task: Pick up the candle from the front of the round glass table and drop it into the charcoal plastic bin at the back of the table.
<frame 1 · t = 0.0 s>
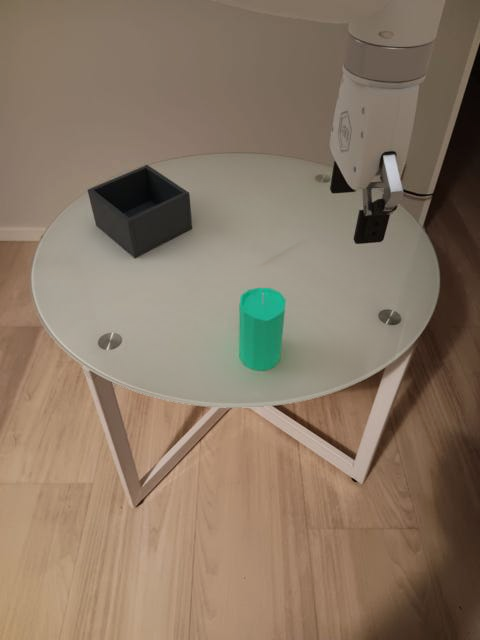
hand: (354, 215, 58), 22 cm above the table, tool pointing down, fingers open, 9 cm apart
bin: (144, 227, 93), on the table
candle: (259, 355, 73), on the table
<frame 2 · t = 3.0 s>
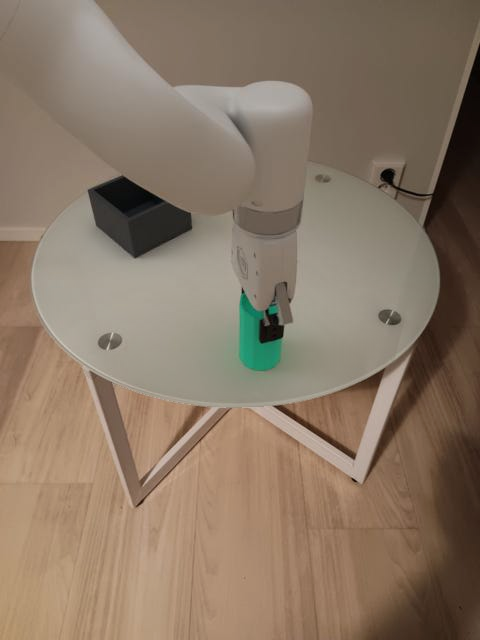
hand: (261, 320, 68), 7 cm above the table, tool pointing down, fingers closed on candle, 5 cm apart
candle: (259, 355, 73), on the table, touching gripper
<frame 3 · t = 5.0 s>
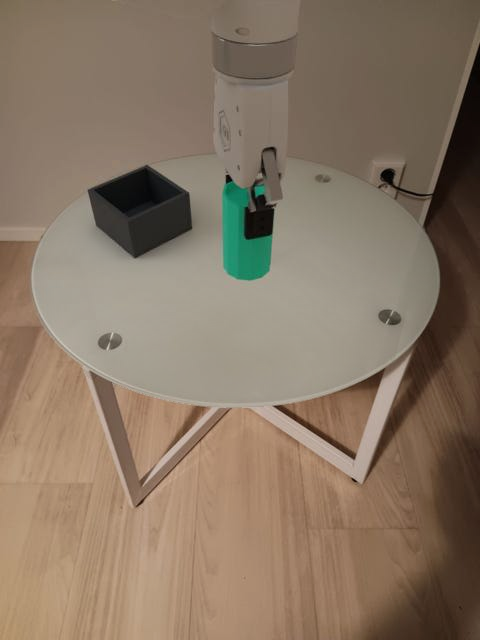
hand: (248, 218, 59), 22 cm above the table, tool pointing down, fingers closed on candle, 5 cm apart
candle: (246, 266, 64), point 14 cm above the table, touching gripper
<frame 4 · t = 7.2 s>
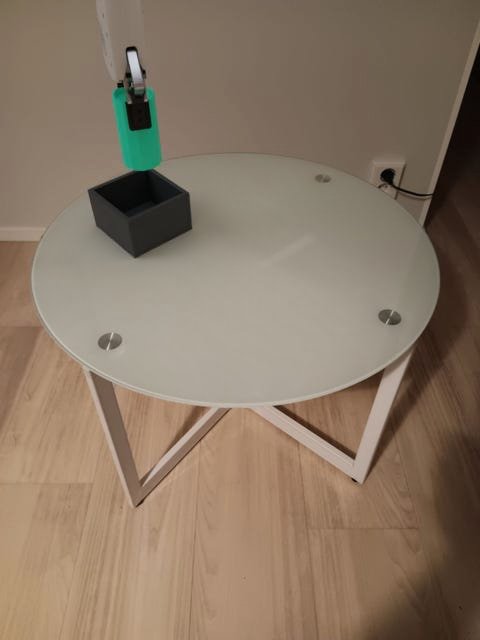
hand: (136, 117, 75), 22 cm above the table, tool pointing down, fingers closed on candle, 5 cm apart
candle: (142, 162, 80), point 15 cm above the table, touching gripper
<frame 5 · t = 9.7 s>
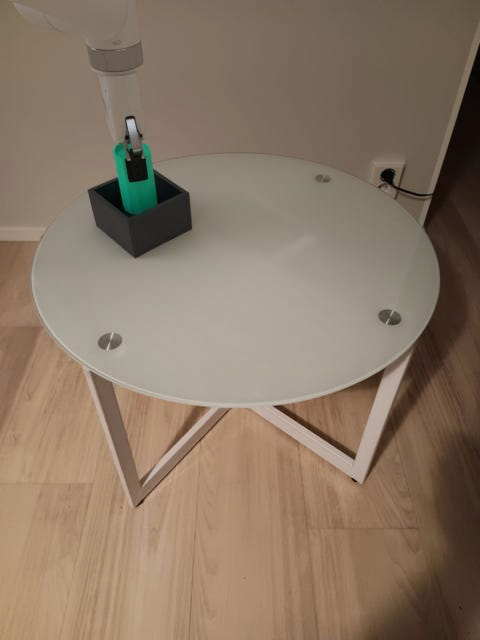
hand: (134, 169, 85), 12 cm above the table, tool pointing down, fingers closed on candle, 5 cm apart
candle: (140, 205, 90), point 5 cm above the table, touching gripper
when the fingers open (8 cm above the table, at t = 11.4 s): candle stays where it is, resting on bin.
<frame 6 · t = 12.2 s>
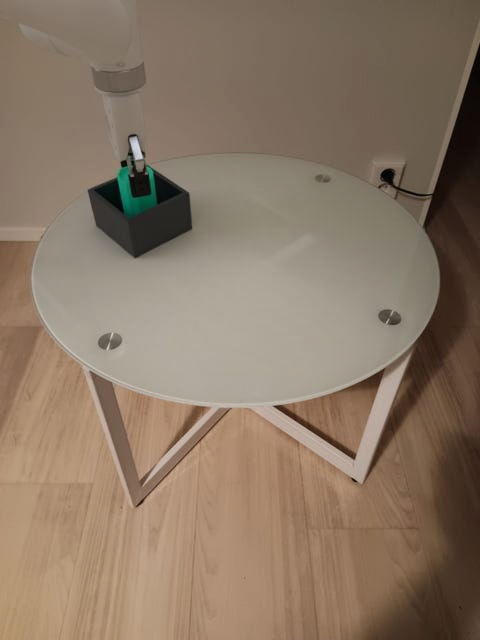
hand: (135, 180, 86), 10 cm above the table, tool pointing down, fingers open, 9 cm apart
candle: (143, 225, 93), resting on bin
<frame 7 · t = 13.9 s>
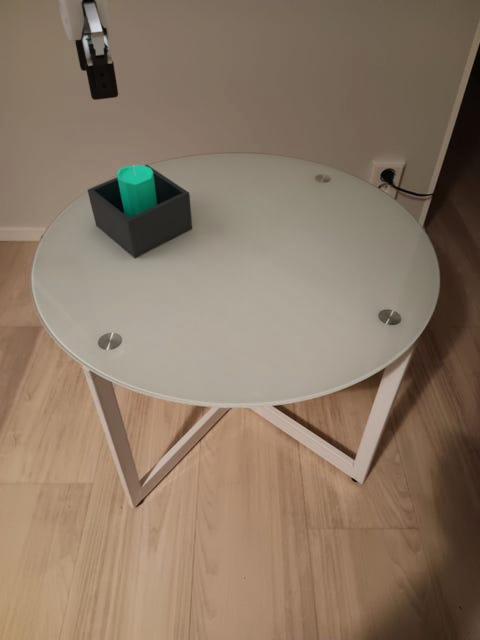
hand: (98, 82, 65), 30 cm above the table, tool pointing down, fingers open, 9 cm apart
nothing on the table moved.
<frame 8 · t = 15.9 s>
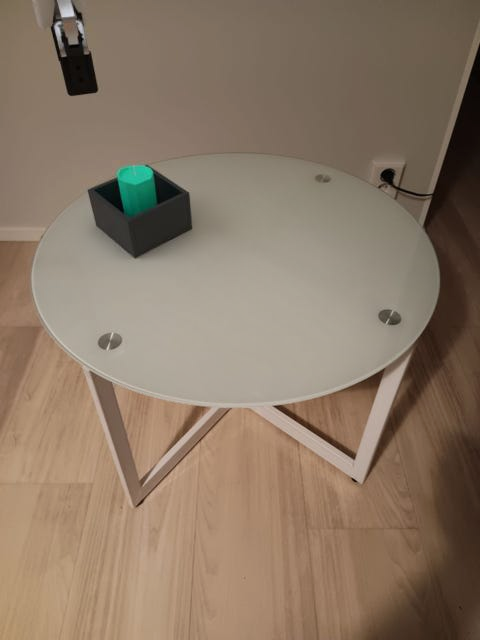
hand: (77, 76, 57), 33 cm above the table, tool pointing down, fingers open, 9 cm apart
nothing on the table moved.
at the end: bin 0.0 cm off-centre in the bin, point 0.0 cm above the bin's base; candle inside the target area in the bin (0.1 cm from its centre), point 0.4 cm above the bin's base; the gripper is holding nothing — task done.
